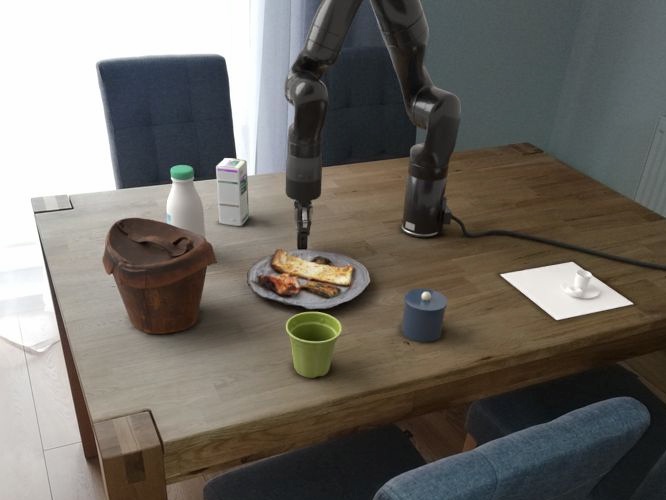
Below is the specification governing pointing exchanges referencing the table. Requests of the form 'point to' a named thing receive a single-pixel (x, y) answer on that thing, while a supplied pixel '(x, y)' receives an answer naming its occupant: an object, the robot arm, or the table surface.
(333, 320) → the plant pot
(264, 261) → the food plate
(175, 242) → the brown covered bucket
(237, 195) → the syrup box
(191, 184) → the milk bottle
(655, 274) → the table surface
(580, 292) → the teacup and saucer
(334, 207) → the table surface
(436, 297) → the sugar pot
